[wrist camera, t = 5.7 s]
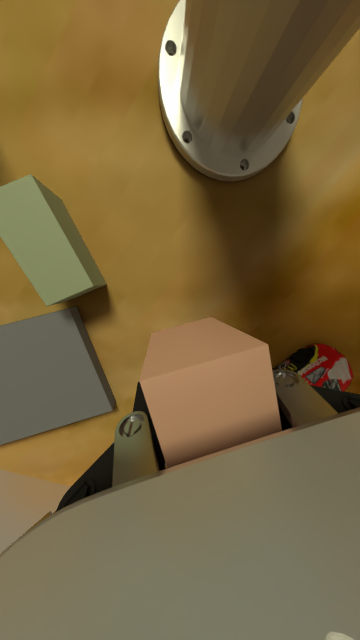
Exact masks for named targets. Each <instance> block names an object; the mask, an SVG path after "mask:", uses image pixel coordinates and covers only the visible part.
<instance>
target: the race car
mask: <svg viewBox="0 0 360 640" xmlns="http://www.w3.org/2000/svg"><path fill="white" fill-rule="evenodd" d="M307 348H308V349H299V350H298V351H297V352H296V353H293V354H292V359H293V361H292V360H291V359H290V358H289V359H287V360H286V361H284V362H283V363H282V364H280V365H279V366H277V367H276V368H274V369H273V370H276V369H287V370H291V371H294V372H296V373H297V374H299V375H300V376H301V377H302V378H303V379H304V380H305V381H306V382H307V383H308V384H309V385H314V386H319V387H324V388H329V389H334V390H339V391H345V389H346V388H347V387H348V386H349V385H350V382H351V380H352V378H353V373H352V370H351V367H350V365H349V362H348V360H347V359H346V357H345V356H343V355H342V354H341V353H339V352H338V351H337V350H336V349H335V348H333V347H330V346H328V345H325V344H314V345H311V346H308V347H307Z"/></svg>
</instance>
